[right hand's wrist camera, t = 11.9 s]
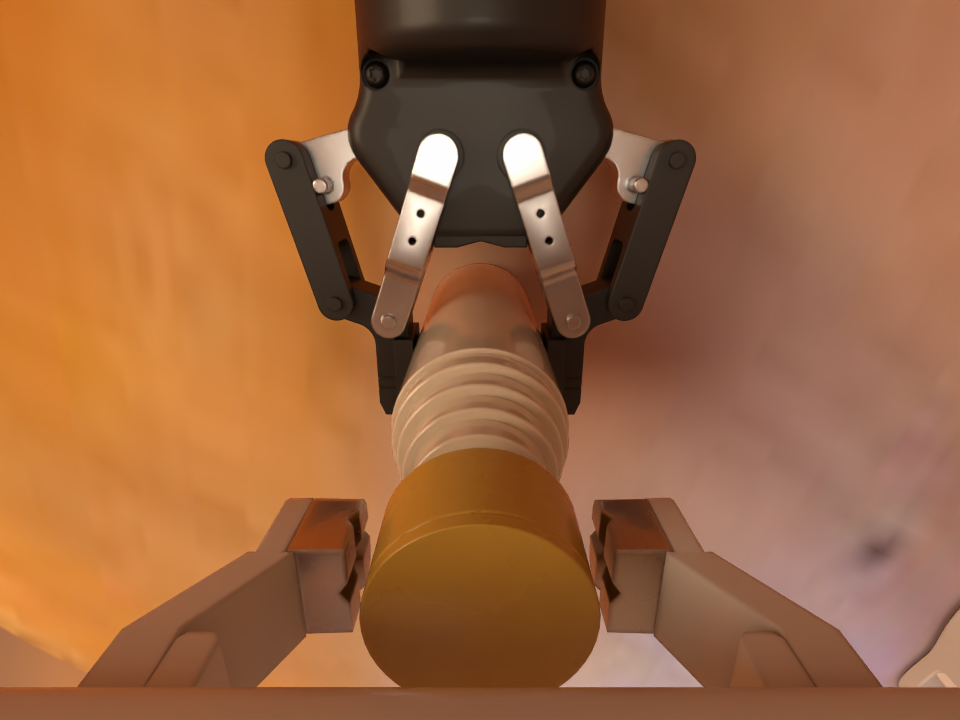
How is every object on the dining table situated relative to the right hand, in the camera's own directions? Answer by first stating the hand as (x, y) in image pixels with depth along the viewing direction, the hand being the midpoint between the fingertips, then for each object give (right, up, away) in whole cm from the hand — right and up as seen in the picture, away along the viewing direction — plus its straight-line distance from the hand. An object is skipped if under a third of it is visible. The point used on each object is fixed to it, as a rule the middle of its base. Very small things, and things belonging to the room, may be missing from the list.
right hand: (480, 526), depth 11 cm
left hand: (0, +1, +10) cm, 10 cm away
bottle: (0, +6, +15) cm, 16 cm away
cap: (0, -1, -2) cm, 2 cm away
